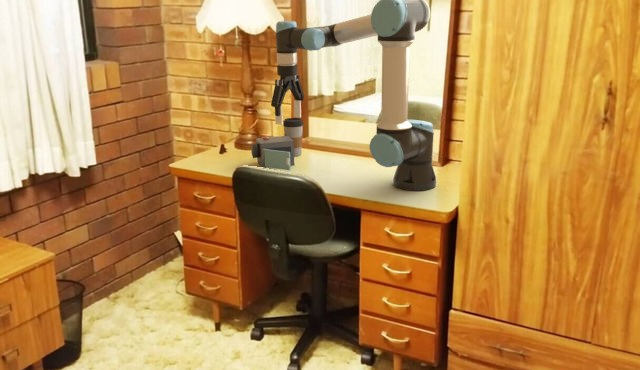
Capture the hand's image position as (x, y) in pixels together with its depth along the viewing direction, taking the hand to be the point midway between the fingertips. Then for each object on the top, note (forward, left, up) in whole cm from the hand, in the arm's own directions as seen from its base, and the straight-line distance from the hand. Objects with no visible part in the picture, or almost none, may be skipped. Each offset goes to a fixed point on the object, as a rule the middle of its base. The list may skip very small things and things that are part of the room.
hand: (288, 120), depth 238 cm
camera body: (+8, +5, -19) cm, 21 cm away
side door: (-1, +6, -18) cm, 19 cm away
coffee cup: (+19, -7, -19) cm, 28 cm away
